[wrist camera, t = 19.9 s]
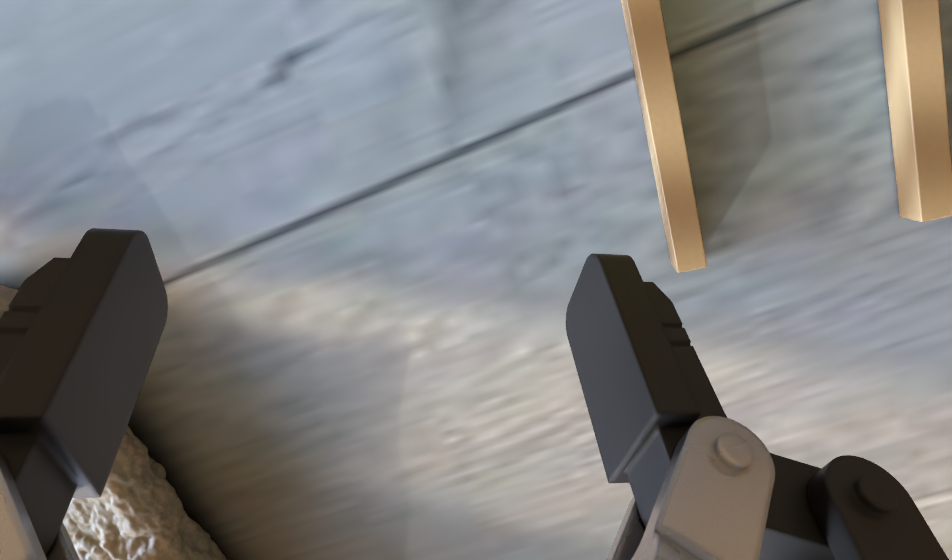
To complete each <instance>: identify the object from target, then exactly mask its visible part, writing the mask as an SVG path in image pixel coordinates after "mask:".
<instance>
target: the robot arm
mask: <svg viewBox="0 0 952 560" xmlns="http://www.w3.org/2000/svg"><path fill="white" fill-rule="evenodd" d="M167 308H168V303H167V294H166V290H165V287H164V284H163V281H162V278H161V275H160V272H159V269H158V266H157V263H156V260H155V257H154V254H153V251H152V248H151V245H150V242H149V239H148V237H147V235H146V234H145V233H144V232H143V231H138V230H117V229H96V228H93V229H90V230H88V231H87V232H86V233H85V235H84V236H83V238H82V239H81V241H80V243H79V245H78V246H77V248H76V250H75V251H74V253H73V255H72V256H71V258H53V259H52V260H51V261H49V262H48V263H47V264H45V265H44V266H43V267H41V268H40V269H39V270H38V271H36V272H35V273H34V274H32V275H31V276H30V277H28V278H27V279H26V280H25V281H24V283H23V284H22V286H21V287H20V289H19V290H18V292H17V293H16V295H15V297H14V298H13V300H12V301H11V303H10V304H9V310H8V311H5V312H4V313H3V315H2V317H1V318H0V560H80V558H79V556H78V554H77V552H76V549H75V547H74V545H73V543H72V540H71V538H70V536H69V534H68V531H67V529H66V527H65V525H64V524H63V520H64V517H65V515H66V512H67V510H68V507H69V505H70V502H71V500H72V498H96V497H101V495H102V492H103V490H104V487H105V484H106V482H107V479H108V476H109V474H110V471H111V468H112V466H113V463H114V460H115V458H116V455H117V452H118V450H119V447H120V444H121V442H122V439H123V436H124V434H125V431H126V428H127V426H128V423H129V420H130V417H131V415H132V412H133V409H134V407H135V404H136V401H137V399H138V396H139V393H140V391H141V388H142V385H143V383H144V380H145V377H146V375H147V372H148V369H149V367H150V364H151V361H152V359H153V356H154V353H155V351H156V348H157V345H158V342H159V340H160V337H161V334H162V332H163V329H164V326H165V323H166V318H167ZM566 331H567V336H568V340H569V343H570V347H571V350H572V354H573V358H574V361H575V365H576V368H577V372H578V375H579V379H580V383H581V386H582V390H583V393H584V397H585V400H586V404H587V407H588V411H589V415H590V418H591V422H592V425H593V429H594V432H595V436H596V440H597V443H598V447H599V450H600V454H601V457H602V461H603V465H604V468H605V472H606V475H607V479H608V482H609V483H630V485H631V488H632V491H633V494H634V498H633V499H632V500H631V502H630V504H629V506H628V508H627V511H626V513H625V516H624V518H623V521H622V523H621V526H620V528H619V531H618V533H617V536H616V538H615V541H614V543H613V545H612V548H611V550H610V553H609V555H608V558H607V560H949V559H948V558H947V556H946V554H945V553H944V551H943V549H942V548H941V546H940V544H939V543H938V541H937V539H936V538H935V536H934V535H933V533H932V531H931V530H930V528H929V526H928V525H927V523H926V521H925V520H924V518H923V516H922V515H921V513H920V511H919V510H918V508H917V507H916V505H915V503H914V502H913V500H912V498H911V497H910V495H909V494H908V492H907V491H906V490H905V489H904V487H903V486H902V485H901V484H900V483H899V482H898V481H897V480H896V479H895V478H894V477H893V476H892V475H891V474H889V473H888V472H887V471H886V470H884V469H883V468H881V467H880V466H878V465H876V464H875V463H873V462H871V461H868V460H866V459H864V458H860V457H857V456H850V455H847V456H840V457H837V458H835V459H833V460H832V461H831V462H829V463H828V464H827V465H826V466H824V467H823V468H822V469H821V468H818V467H814V466H811V465H808V464H804V463H801V462H798V461H794V460H791V459H788V458H784V457H781V456H778V455H775V454H772V453H769V451H768V450H767V448H766V446H765V445H764V444H763V442H762V441H761V440H760V439H759V438H758V437H757V436H756V435H755V434H754V433H753V432H752V431H750V430H749V429H748V428H747V427H745V426H743V425H742V424H740V423H738V422H736V421H734V420H732V419H729V418H727V416H726V414H725V413H724V411H723V409H722V407H721V404H720V402H719V400H718V398H717V396H716V394H715V392H714V390H713V388H712V385H711V383H710V381H709V379H708V377H707V375H706V373H705V371H704V369H703V367H702V364H701V362H700V360H699V358H698V356H697V354H696V352H695V350H694V348H693V346H690V342H691V341H690V339H689V337H688V335H687V333H686V331H685V329H684V328H682V322H681V320H680V318H679V316H678V314H677V312H676V310H675V307H674V305H673V303H672V302H671V300H670V299H669V298H668V297H667V296H666V295H665V294H664V293H663V292H662V291H661V290H660V289H659V288H658V287H657V286H656V285H655V284H654V283H653V282H643V280H642V278H641V276H640V274H639V271H638V269H637V267H636V265H635V262H634V260H633V259H632V258H631V257H630V256H628V255H611V254H591V255H589V256H588V258H587V260H586V262H585V264H584V267H583V269H582V272H581V274H580V277H579V279H578V282H577V284H576V287H575V289H574V292H573V294H572V297H571V299H570V302H569V304H568V308H567V313H566Z"/></svg>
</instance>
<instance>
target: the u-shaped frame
mask: <svg viewBox="0 0 952 560" xmlns="http://www.w3.org/2000/svg"><path fill="white" fill-rule="evenodd" d="M621 3H622V8H623V14H624V19H625V24H626V29H627V35H628V40H629V45H630V50H631V55H632V61H633V66H634V71H635V76H636V82H637V87H638V92H639V97H640V102H641V108H642V113H643V118H644V123H645V129H646V134H647V139H648V144H649V150H650V155H651V160H652V165H653V170H654V176H655V181H656V186H657V191H658V197H659V202H660V207H661V212H662V217H663V223H664V228H665V233H666V238H667V244H668V249H669V254H670V259H671V264H672V266H673V267H674V268H675V269H676V271H677V272H678V273H681V272H685V271H690V270H695V269H700V268H705V267H707V262H706V256H705V251H704V245H703V240H702V234H701V228H700V223H699V217H698V211H697V206H696V200H695V195H694V189H693V183H692V178H691V172H690V166H689V161H688V155H687V150H686V144H685V138H684V133H683V127H682V121H681V116H680V110H679V104H678V99H677V93H676V88H675V82H674V76H673V71H672V65H671V59H670V54H669V48H668V43H667V37H666V31H665V26H664V20H663V14H662V9H661V3H660V0H621ZM878 6H879V15H880V25H881V35H882V45H883V55H884V65H885V74H886V84H887V94H888V104H889V114H890V124H891V134H892V143H893V153H894V163H895V173H896V183H897V193H898V202H899V212H900V217H903V218H907V219H911V220H916V221H920V222H925V221H930V220H934V219H939V218H944V217H949V216H952V163H951V151H950V138H949V126H948V113H947V101H946V89H945V76H944V64H943V51H942V39H941V27H940V14H939V2H938V0H878Z"/></svg>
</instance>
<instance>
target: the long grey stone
mask: <svg viewBox="0 0 952 560" xmlns="http://www.w3.org/2000/svg"><path fill="white" fill-rule="evenodd" d="M17 292H18V290H17V289H12V288H9V287H5V286H3V285H0V318H1V317H2V315H3V313H4V312H5V311H8V310H9V304H10V303H11V301H12V300H13V298H14V297H15V295H16V293H17ZM165 478H166V470H165V468H164V467H163V466H162V465H161V464H159V463H157V462H155V461H154V460H153V459H152V458H151V457H149V455H148V448H147V447H146V446H145V445H144V444H143V443H142V442H141V441H140V440H139V439H138V438H137V437H136V436H134V434H133V432H132V431H131V429H130V428H129V426H127V428H126V431H125V434H124V436H123V439H122V442H121V444H120V447H119V450H118V452H117V455H116V458H115V460H114V463H113V466H112V468H111V471H110V474H109V476H108V479H107V482H106V484H105V487H104V490H103V492H102V495H101V497H96V498H72V500H71V502H70V505H69V507H68V510H67V512H66V515H65V517H64V520H63V524H64V525H65V527H66V529H67V531H68V534H69V536H70V538H71V540H72V543H73V545H74V547H75V549H76V552H77V554H78V556H79V558H80V560H227V559H226V557H225V555H224V554H223V553H222V552H221V551H220V549H219V548H218V546H217V545H216V544H215V542H214V541H212V540H211V539H210V535H209V534H208V533H207V532H205V531H204V530H203V529H202V528H201V527H200V525H199V524H198V523H196V522H195V521H193V520H192V519H191V518H189V517H188V515H187V514H186V512H185V511H184V509H183V504H182V502H181V500H180V499H179V497H178V496H177V494H176V492H175V489H174V488H173V487H172V486H171V485H170V484H169V483H168V481H167V480H165Z"/></svg>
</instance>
